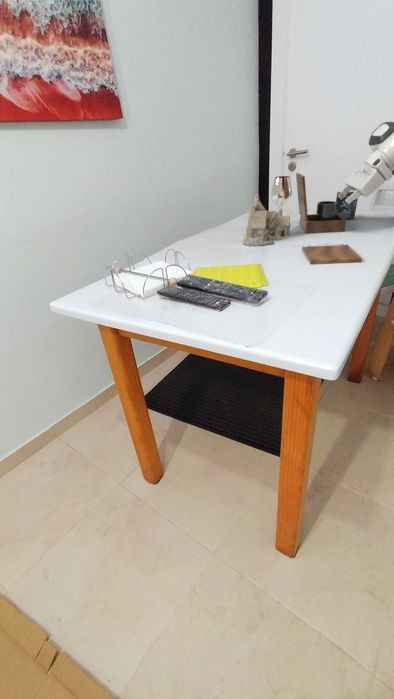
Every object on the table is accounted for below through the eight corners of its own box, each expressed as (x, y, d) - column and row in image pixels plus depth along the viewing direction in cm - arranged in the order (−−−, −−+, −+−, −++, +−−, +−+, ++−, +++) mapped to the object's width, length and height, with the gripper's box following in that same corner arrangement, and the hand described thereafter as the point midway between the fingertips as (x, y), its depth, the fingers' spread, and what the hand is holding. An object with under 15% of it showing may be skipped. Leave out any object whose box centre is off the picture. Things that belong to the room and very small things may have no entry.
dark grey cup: (330, 226, 128) (334, 200, 123) (335, 230, 122) (338, 203, 118) (313, 227, 129) (315, 201, 124) (316, 231, 123) (319, 204, 118)
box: (332, 222, 136) (336, 193, 130) (333, 219, 140) (337, 191, 134) (354, 222, 133) (359, 193, 127) (353, 219, 137) (358, 191, 132)
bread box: (335, 226, 131) (336, 212, 128) (344, 234, 120) (346, 220, 117) (299, 227, 132) (300, 215, 129) (305, 236, 121) (306, 222, 119)
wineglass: (279, 230, 131) (282, 178, 122) (264, 227, 137) (266, 177, 128) (294, 226, 135) (298, 176, 125) (279, 223, 141) (282, 175, 131)
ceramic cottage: (237, 244, 117) (240, 197, 110) (251, 234, 130) (255, 192, 122) (281, 250, 112) (288, 201, 104) (292, 239, 124) (299, 194, 116)
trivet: (347, 247, 106) (347, 244, 106) (361, 262, 95) (362, 258, 94) (301, 250, 108) (301, 246, 107) (310, 264, 96) (310, 260, 96)
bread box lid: (298, 172, 122) (295, 173, 122) (304, 176, 111) (302, 176, 111) (301, 213, 129) (299, 214, 129) (307, 220, 119) (305, 221, 119)
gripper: (362, 158, 122) (330, 189, 128) (383, 162, 105) (345, 198, 111) (372, 171, 123) (340, 201, 130) (394, 177, 106) (356, 211, 113)
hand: (342, 200), depth 120 cm, fingers open, 8 cm apart
